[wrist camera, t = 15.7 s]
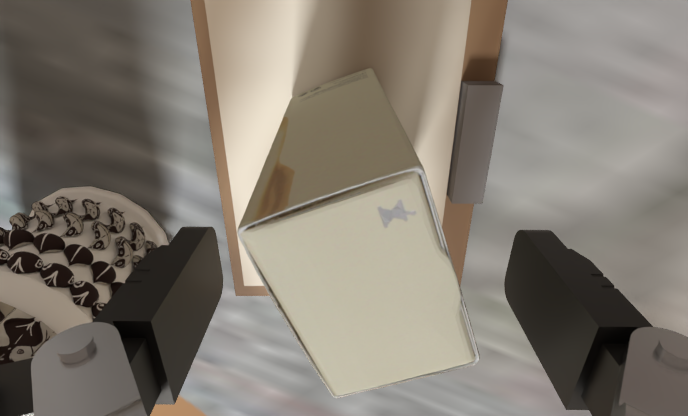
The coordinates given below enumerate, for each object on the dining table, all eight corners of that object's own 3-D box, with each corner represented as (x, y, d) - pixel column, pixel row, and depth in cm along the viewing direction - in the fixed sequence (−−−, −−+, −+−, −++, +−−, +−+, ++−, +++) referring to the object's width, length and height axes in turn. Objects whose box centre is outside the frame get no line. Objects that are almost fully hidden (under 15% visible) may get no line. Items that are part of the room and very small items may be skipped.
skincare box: (287, 97, 19) (218, 217, 8) (373, 64, 19) (421, 148, 8) (335, 208, 22) (330, 410, 11) (411, 183, 21) (486, 370, 10)
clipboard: (516, -95, 17) (537, -107, 15) (455, 286, 26) (463, 307, 24) (182, -97, 17) (163, -109, 15) (238, 287, 26) (231, 308, 24)
